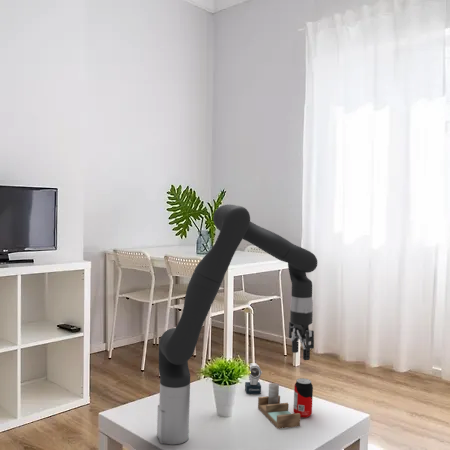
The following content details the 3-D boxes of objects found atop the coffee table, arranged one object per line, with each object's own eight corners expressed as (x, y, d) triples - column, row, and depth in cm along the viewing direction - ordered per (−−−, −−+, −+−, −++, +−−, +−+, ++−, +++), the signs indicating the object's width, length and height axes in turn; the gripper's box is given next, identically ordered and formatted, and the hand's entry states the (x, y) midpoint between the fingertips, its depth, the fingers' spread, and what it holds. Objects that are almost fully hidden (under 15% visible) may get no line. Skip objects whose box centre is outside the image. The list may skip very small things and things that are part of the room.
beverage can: (309, 420, 174) (311, 385, 173) (291, 416, 176) (292, 382, 175) (313, 413, 179) (314, 379, 179) (295, 410, 182) (296, 376, 181)
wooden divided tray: (277, 428, 166) (278, 399, 165) (257, 408, 182) (258, 381, 182) (299, 426, 168) (301, 397, 168) (278, 406, 185) (279, 380, 184)
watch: (247, 396, 193) (248, 367, 193) (244, 388, 201) (245, 360, 201) (262, 395, 194) (263, 367, 193) (258, 388, 202) (259, 360, 201)
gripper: (282, 305, 180) (281, 351, 181) (301, 314, 167) (300, 363, 168) (301, 304, 183) (301, 349, 183) (321, 313, 169) (320, 361, 170)
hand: (300, 356), depth 176 cm, fingers open, 8 cm apart
